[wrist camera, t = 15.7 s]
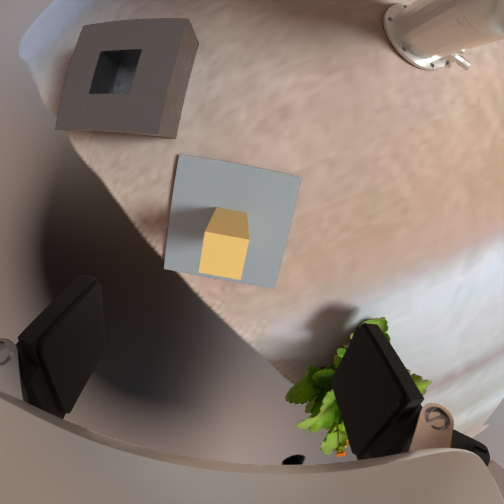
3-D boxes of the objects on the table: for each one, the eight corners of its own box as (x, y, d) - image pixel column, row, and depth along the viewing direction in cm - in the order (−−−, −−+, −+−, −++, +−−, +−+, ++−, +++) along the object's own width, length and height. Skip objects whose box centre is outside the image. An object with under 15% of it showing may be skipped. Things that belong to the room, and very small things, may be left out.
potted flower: (422, 354, 48) (462, 410, 31) (339, 420, 53) (358, 480, 37) (361, 291, 42) (414, 361, 25) (260, 379, 47) (266, 460, 30)
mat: (300, 177, 35) (301, 177, 35) (273, 286, 41) (274, 288, 40) (180, 154, 34) (179, 154, 33) (165, 267, 39) (164, 268, 38)
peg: (247, 212, 36) (249, 239, 25) (241, 241, 38) (240, 280, 26) (216, 206, 36) (204, 231, 25) (211, 236, 37) (198, 272, 26)
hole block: (198, 43, 29) (188, 18, 21) (175, 138, 33) (158, 134, 26) (108, 43, 27) (83, 25, 20) (86, 131, 32) (55, 129, 24)
